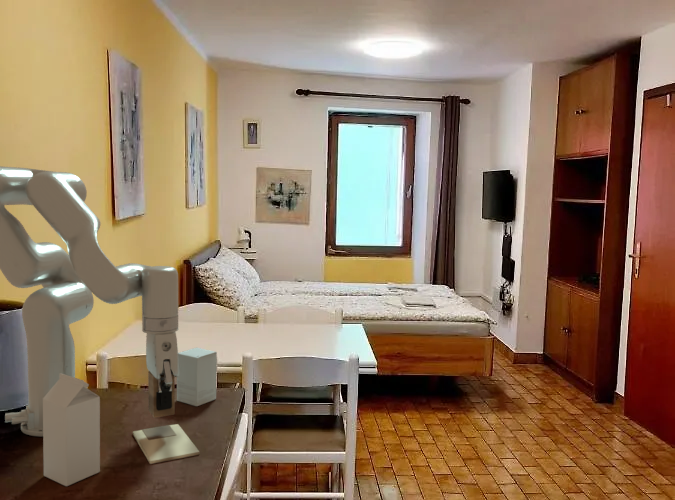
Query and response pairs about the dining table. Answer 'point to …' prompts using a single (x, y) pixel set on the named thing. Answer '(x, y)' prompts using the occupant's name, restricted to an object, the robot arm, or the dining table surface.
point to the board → (165, 443)
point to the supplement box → (196, 376)
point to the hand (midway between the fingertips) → (161, 404)
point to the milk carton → (71, 431)
